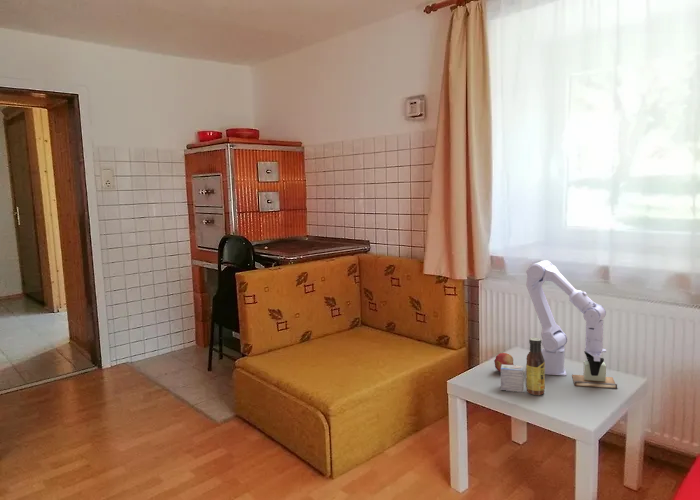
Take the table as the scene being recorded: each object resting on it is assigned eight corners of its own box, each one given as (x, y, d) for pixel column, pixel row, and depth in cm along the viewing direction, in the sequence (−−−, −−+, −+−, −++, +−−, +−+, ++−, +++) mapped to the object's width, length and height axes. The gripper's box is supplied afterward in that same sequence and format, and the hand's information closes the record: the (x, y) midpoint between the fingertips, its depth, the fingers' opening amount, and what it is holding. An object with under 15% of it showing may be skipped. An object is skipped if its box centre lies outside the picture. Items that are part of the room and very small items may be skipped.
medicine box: (523, 387, 186) (523, 365, 185) (523, 393, 182) (523, 370, 180) (501, 386, 188) (501, 363, 187) (500, 390, 184) (500, 368, 183)
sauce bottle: (544, 397, 178) (545, 342, 175) (526, 395, 180) (526, 341, 177) (544, 389, 184) (544, 336, 181) (526, 387, 186) (526, 335, 183)
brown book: (574, 385, 185) (574, 381, 185) (571, 376, 194) (572, 372, 194) (617, 388, 181) (617, 384, 181) (612, 378, 190) (612, 374, 189)
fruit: (511, 378, 195) (511, 358, 194) (491, 374, 199) (491, 355, 198) (516, 371, 201) (516, 351, 200) (497, 368, 205) (496, 349, 204)
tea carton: (605, 381, 185) (606, 366, 184) (584, 380, 187) (585, 364, 186) (603, 377, 189) (604, 361, 188) (583, 375, 191) (583, 360, 190)
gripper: (609, 345, 178) (608, 381, 180) (602, 332, 192) (602, 366, 194) (588, 343, 180) (587, 380, 182) (582, 331, 194) (582, 365, 196)
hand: (593, 372), depth 188 cm, fingers closed on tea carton, 4 cm apart
